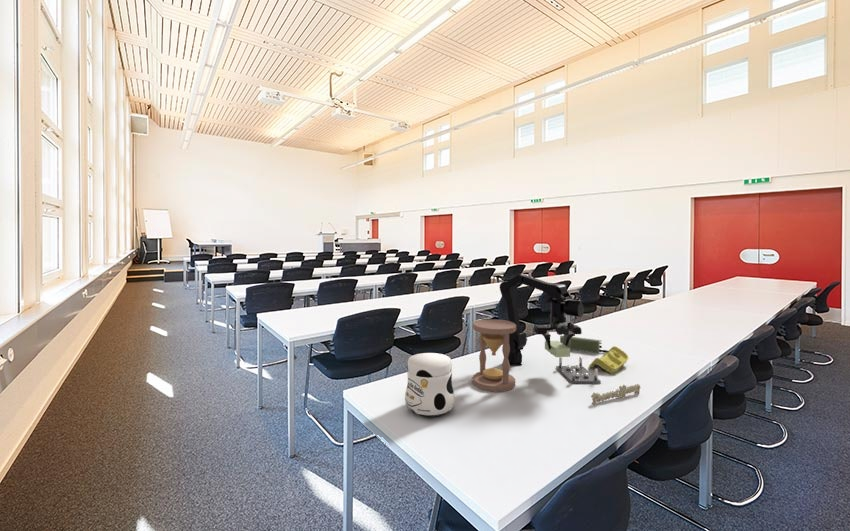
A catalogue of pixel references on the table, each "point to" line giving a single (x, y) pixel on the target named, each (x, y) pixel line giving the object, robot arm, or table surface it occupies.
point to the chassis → (578, 373)
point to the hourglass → (494, 339)
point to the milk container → (429, 384)
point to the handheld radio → (584, 344)
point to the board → (558, 349)
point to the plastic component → (611, 360)
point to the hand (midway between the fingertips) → (557, 349)
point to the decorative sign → (616, 393)
